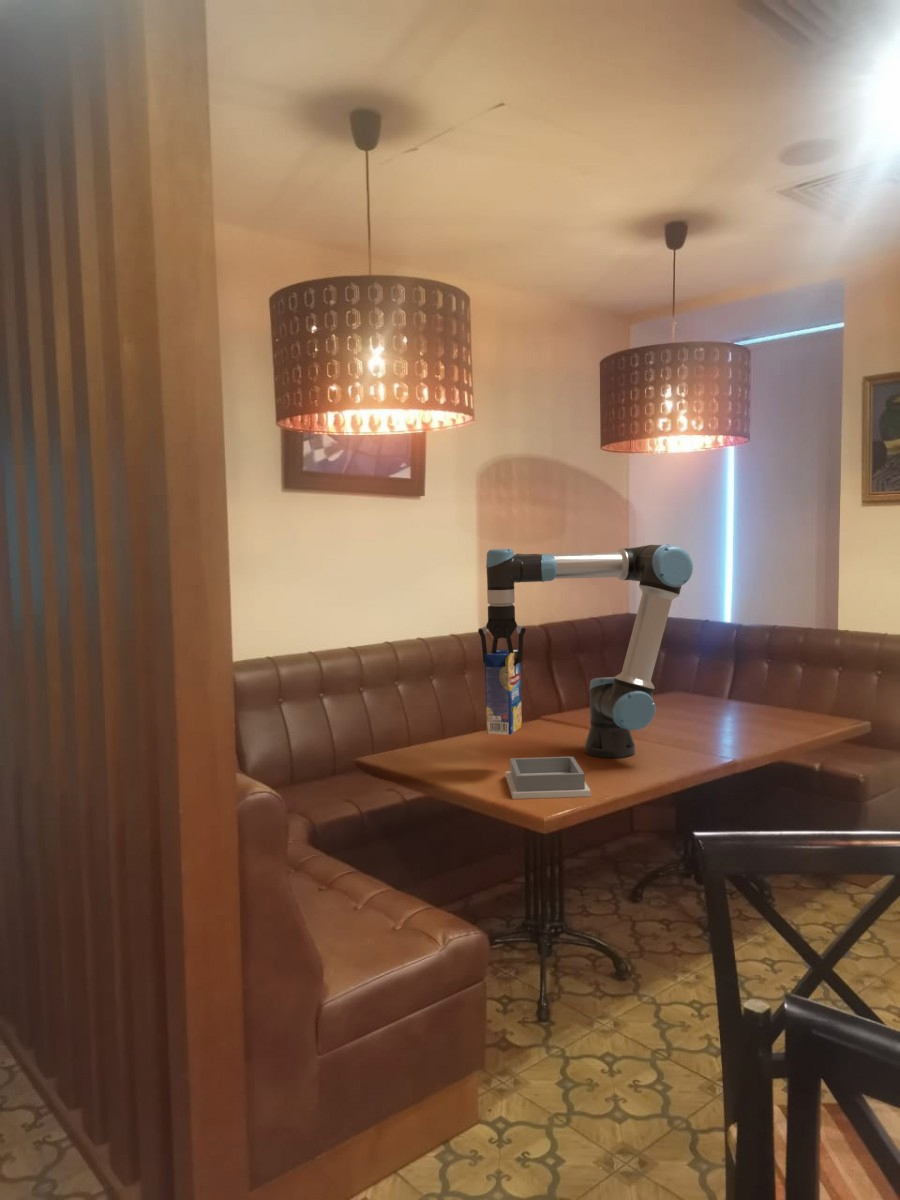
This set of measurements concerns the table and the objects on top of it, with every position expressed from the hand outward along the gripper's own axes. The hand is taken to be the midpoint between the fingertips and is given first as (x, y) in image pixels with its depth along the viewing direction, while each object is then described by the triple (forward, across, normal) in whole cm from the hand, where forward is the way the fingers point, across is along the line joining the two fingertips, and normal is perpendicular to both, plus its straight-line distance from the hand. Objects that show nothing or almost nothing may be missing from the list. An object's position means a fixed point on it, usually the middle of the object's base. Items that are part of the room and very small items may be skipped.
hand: (503, 688), depth 238 cm
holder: (+24, -10, +13) cm, 29 cm away
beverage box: (+12, 0, 0) cm, 12 cm away
